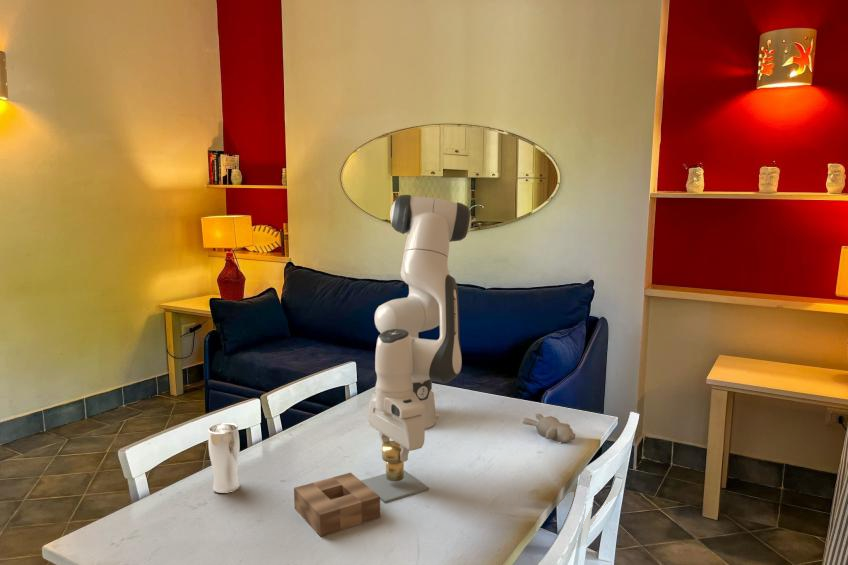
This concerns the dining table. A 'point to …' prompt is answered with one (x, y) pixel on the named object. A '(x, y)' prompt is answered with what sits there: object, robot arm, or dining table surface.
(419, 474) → the dining table surface
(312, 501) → the walnut block
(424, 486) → the rubber mat
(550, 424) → the bunny figurine
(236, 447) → the beer glass
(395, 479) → the brass knob
